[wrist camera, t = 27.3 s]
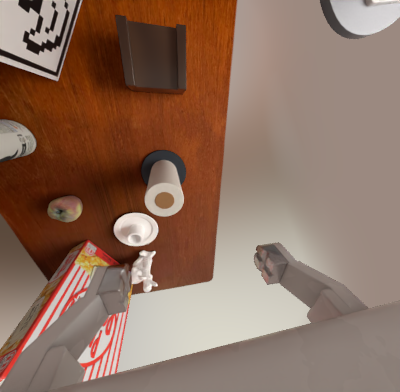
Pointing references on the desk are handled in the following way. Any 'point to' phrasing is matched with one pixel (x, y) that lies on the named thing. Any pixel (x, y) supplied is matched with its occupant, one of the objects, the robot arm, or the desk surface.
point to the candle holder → (135, 229)
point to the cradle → (153, 56)
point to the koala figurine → (143, 270)
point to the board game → (60, 302)
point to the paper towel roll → (164, 189)
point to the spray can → (15, 140)
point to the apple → (65, 208)
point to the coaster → (163, 155)
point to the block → (37, 34)
